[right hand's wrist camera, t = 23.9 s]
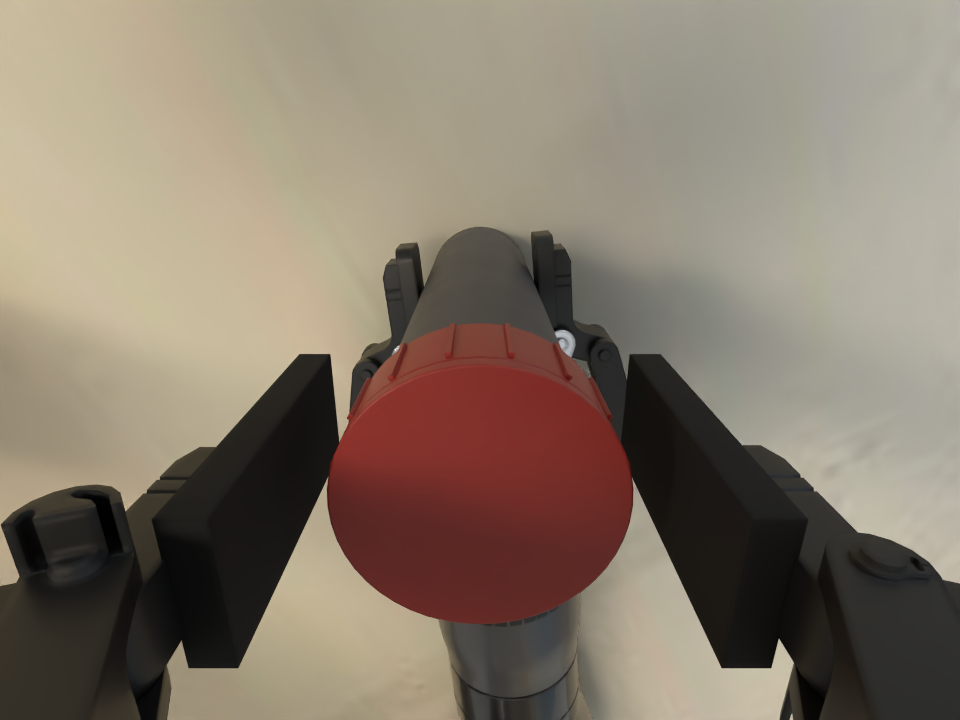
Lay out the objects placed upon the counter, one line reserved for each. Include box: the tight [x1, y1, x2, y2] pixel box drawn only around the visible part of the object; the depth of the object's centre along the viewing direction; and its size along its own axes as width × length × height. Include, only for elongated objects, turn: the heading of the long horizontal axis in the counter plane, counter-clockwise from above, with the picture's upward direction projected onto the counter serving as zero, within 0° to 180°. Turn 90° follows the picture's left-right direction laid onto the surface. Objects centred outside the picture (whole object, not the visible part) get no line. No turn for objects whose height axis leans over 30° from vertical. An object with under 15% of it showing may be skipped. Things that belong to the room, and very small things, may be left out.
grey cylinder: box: [398, 227, 562, 350], centre depth 20 cm, size 5×5×20 cm
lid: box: [327, 323, 633, 624], centre depth 11 cm, size 6×6×2 cm
